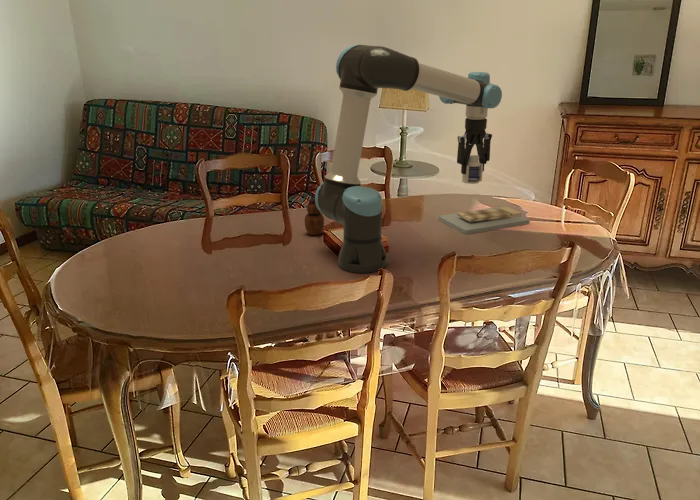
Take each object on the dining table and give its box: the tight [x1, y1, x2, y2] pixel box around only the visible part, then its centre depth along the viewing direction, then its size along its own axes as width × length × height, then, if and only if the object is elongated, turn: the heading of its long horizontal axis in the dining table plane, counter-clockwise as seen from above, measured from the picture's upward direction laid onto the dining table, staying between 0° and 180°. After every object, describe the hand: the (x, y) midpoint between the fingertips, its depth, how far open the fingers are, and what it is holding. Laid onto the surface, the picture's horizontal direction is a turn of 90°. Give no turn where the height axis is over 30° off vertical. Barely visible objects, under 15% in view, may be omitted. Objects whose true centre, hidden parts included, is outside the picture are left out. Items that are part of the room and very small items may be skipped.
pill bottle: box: [467, 154, 481, 185], centre depth 215 cm, size 5×5×10 cm
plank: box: [457, 208, 510, 222], centre depth 220 cm, size 18×8×1 cm, turn 114°
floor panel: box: [437, 206, 530, 235], centre depth 220 cm, size 28×18×3 cm, turn 113°
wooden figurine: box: [304, 193, 325, 236], centre depth 207 cm, size 7×6×15 cm
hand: (471, 181), depth 217 cm, fingers closed on pill bottle, 5 cm apart
